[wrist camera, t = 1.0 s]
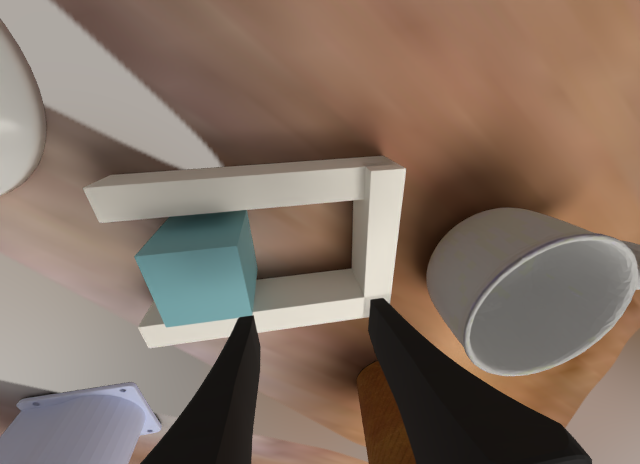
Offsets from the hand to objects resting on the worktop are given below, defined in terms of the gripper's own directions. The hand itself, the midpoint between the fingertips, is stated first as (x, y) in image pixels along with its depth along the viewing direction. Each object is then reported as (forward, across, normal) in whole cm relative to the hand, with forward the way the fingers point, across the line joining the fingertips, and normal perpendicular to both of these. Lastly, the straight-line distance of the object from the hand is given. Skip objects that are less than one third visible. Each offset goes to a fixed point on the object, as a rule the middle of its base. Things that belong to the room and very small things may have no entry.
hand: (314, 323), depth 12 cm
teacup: (+9, -16, +3) cm, 18 cm away
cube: (+8, +6, 0) cm, 10 cm away
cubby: (+8, +2, 0) cm, 9 cm away
